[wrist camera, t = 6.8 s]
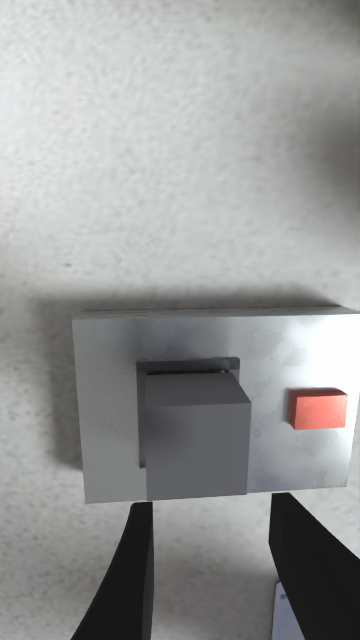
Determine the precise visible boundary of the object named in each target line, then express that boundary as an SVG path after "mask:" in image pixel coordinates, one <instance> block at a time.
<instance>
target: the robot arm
mask: <svg viewBox="0 0 360 640" xmlns="http://www.w3.org/2000/svg"><path fill="white" fill-rule="evenodd" d="M268 543H269V546H270V550H271V553H272V556H273V560H274V563H275V566H276V569H277V573H278V576H279V579H280V581H281V582H279V583H278V584H277V585H276V591H275V604H274V616H273V629H272V640H360V559H359V558H358V557H357V556H356V555H354V554H353V553H352V552H351V551H350V550H349V549H348V548H347V547H345V546H344V545H343V544H342V543H341V542H340V541H339V540H338V539H337V538H336V537H335V536H333V535H332V534H331V533H330V532H329V531H328V530H327V529H326V528H325V527H324V526H323V525H322V524H321V523H320V522H319V521H318V520H317V519H316V518H315V517H314V516H313V515H312V514H311V513H310V512H309V511H307V510H306V509H305V508H304V507H303V506H302V505H301V504H300V503H299V502H298V501H297V500H296V499H295V498H294V497H293V496H292V495H291V494H290V493H289V492H287V493H272V499H271V513H270V527H269V541H268ZM153 597H154V545H153V502H138V503H134V504H132V505H131V508H130V513H129V516H128V520H127V523H126V526H125V529H124V532H123V535H122V537H121V540H120V543H119V545H118V547H117V550H116V552H115V555H114V557H113V559H112V562H111V564H110V566H109V568H108V571H107V573H106V575H105V577H104V579H103V581H102V583H101V585H100V587H99V589H98V591H97V593H96V595H95V597H94V599H93V601H92V603H91V605H90V607H89V609H88V610H87V612H86V614H85V616H84V618H83V619H82V621H81V623H80V625H79V626H78V628H77V630H76V632H75V633H74V635H73V637H72V638H71V640H151V627H152V612H153Z"/></svg>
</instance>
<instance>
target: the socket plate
mask: <svg viewBox="0 0 360 640" xmlns="http://www.w3.org/2000/svg"><path fill="white" fill-rule="evenodd" d="M72 333H73V347H74V360H75V373H76V386H77V399H78V412H79V425H80V438H81V451H82V464H83V478H84V491H85V504H92V503H107V502H122V501H137V500H147V492H146V451H145V409H144V407H145V383H146V375H170V374H202V373H233V375H234V376H235V378H236V380H237V381H238V383H239V384H240V386H241V387H242V389H243V390H244V392H245V393H246V395H247V397H248V398H249V400H250V401H251V403H252V407H251V425H250V443H249V461H248V479H247V493H257V492H272V491H287V490H302V489H317V488H332V487H347V480H348V472H349V464H350V457H351V449H352V441H353V433H354V426H355V418H356V410H357V403H358V395H359V387H360V311H357V310H353V309H350V308H347V307H344V306H329V307H270V308H212V309H153V310H95V311H81V312H80V313H79V314H78V315H76V316H75V317H74V318H73V319H72Z"/></svg>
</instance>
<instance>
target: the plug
mask: <svg viewBox="0 0 360 640" xmlns="http://www.w3.org/2000/svg"><path fill="white" fill-rule="evenodd" d="M251 407H252V403H251V401H250V400H249V398H248V397H247V395H246V393H245V392H244V390H243V389H242V387H241V386H240V384H239V383H238V381H237V380H236V378H235V376H234V375H233V373H202V374H170V375H146V383H145V407H144V409H145V451H146V492H147V501H154V500H170V499H185V498H201V497H217V496H232V495H247V479H248V461H249V443H250V425H251Z"/></svg>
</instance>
